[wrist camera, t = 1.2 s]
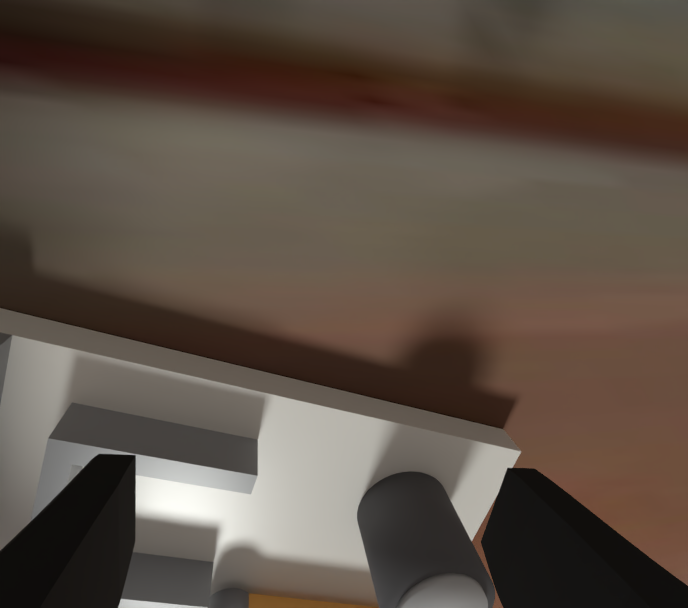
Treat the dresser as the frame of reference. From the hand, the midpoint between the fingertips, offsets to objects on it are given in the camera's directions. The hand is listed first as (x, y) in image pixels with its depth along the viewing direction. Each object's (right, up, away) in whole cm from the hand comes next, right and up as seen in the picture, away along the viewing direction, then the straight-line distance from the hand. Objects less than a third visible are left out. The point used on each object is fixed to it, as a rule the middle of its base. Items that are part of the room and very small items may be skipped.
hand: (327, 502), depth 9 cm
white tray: (-4, -4, +11) cm, 13 cm away
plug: (+3, -5, +11) cm, 13 cm away
